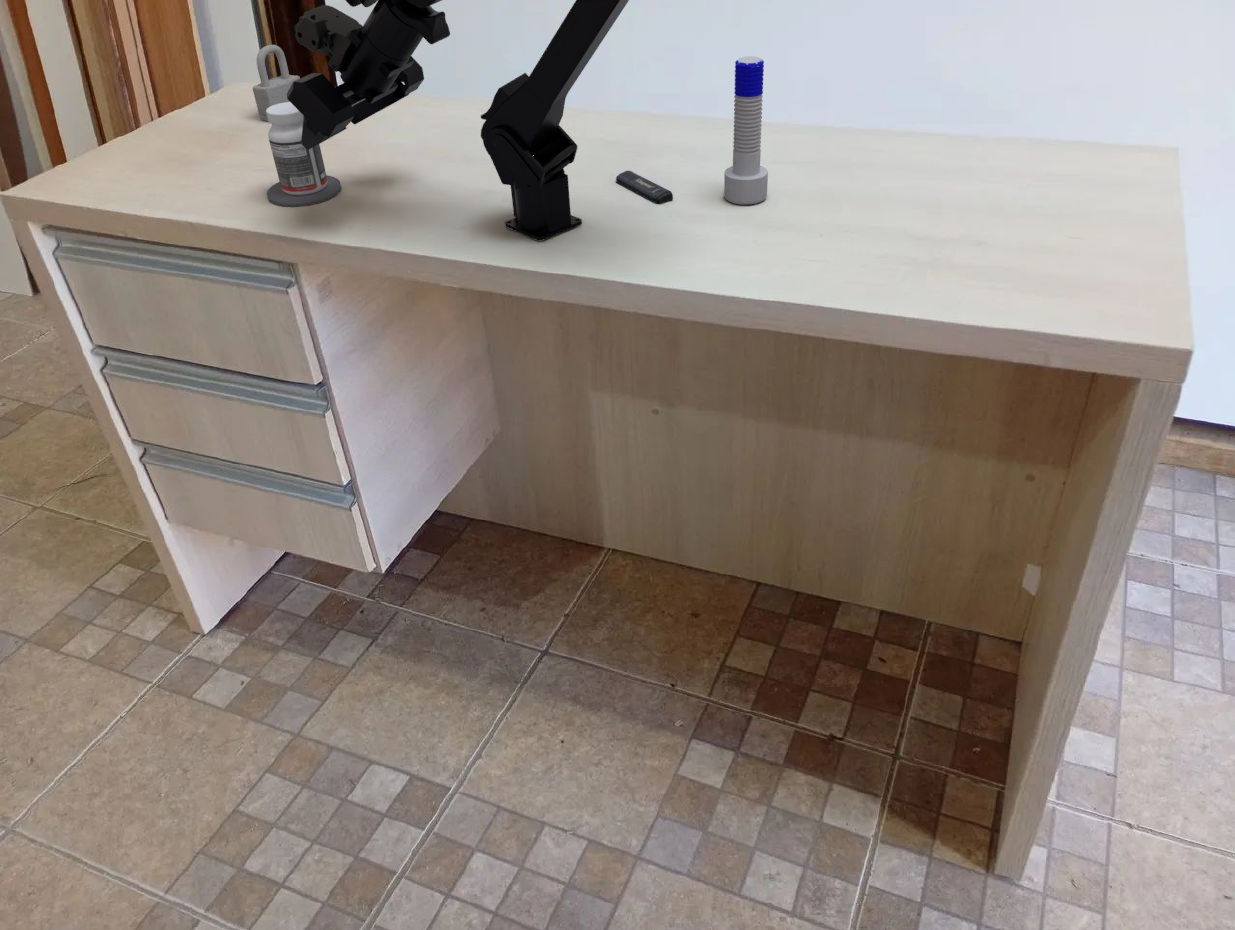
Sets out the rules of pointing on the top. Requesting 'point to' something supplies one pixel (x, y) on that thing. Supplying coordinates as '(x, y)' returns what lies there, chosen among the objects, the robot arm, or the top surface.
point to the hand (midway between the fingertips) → (329, 133)
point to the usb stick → (644, 187)
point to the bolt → (747, 136)
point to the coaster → (284, 199)
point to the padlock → (272, 82)
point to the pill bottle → (294, 152)
